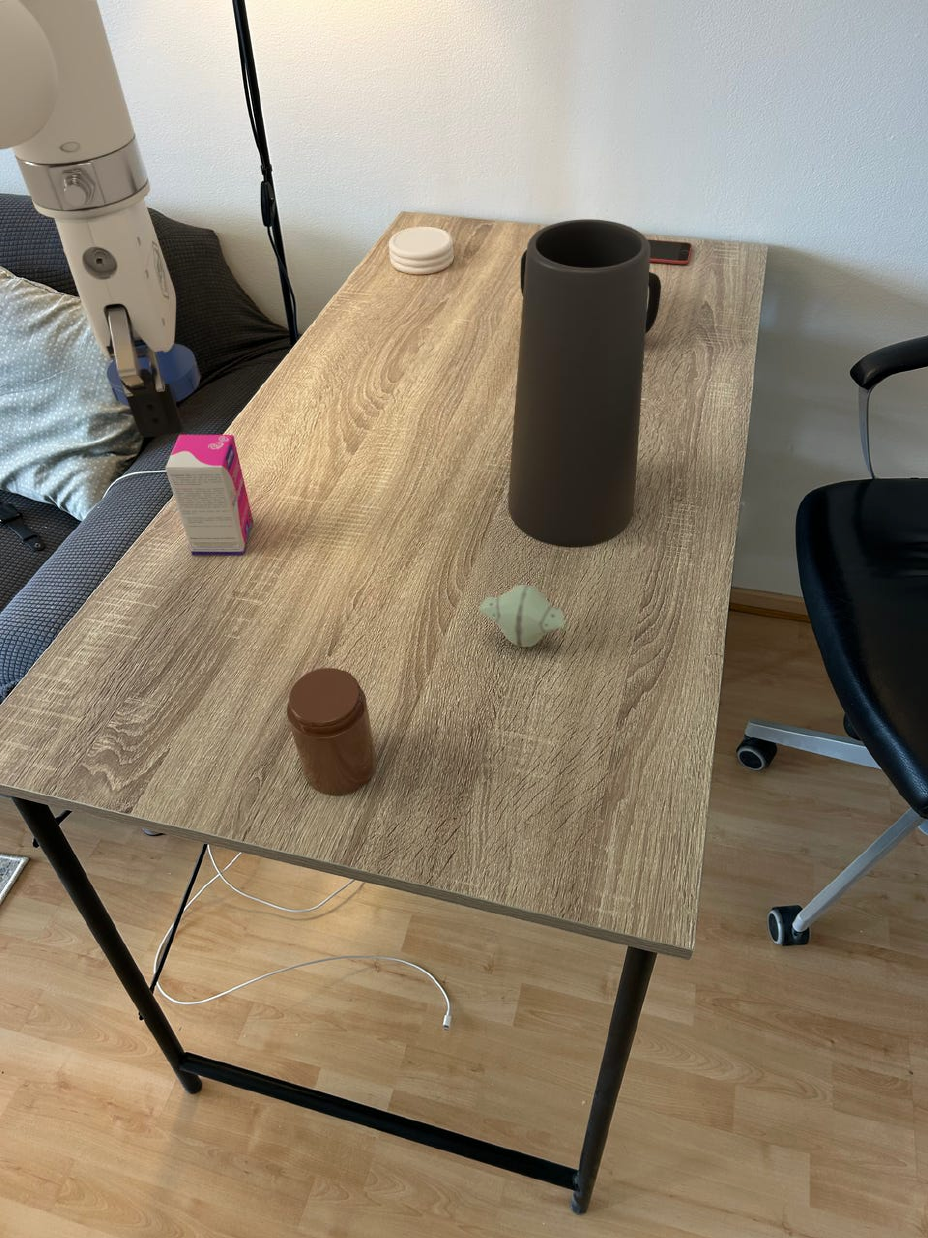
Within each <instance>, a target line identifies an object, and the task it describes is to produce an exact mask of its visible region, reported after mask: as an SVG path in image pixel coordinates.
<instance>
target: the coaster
mask: <svg viewBox="0 0 928 1238" xmlns="http://www.w3.org/2000/svg"><path fill="white" fill-rule="evenodd" d="M388 248H389V251H388V254H389V261H390V265H391V266H392V267H393V268H394V269H396V270H397V271H399V272H401V273H405V274H408V275H418V276H419V275H421V276H422V275H430V274H435V273H439V272H442V271H443V270H445V269H447V268H448V267H450V265H452V263H453V262H454V258H455V253H454V250H455V248H454V238H453V236H452V235H451V234H450V232H448V231H446V230H444V229H441V228H439V227H434V226H414V227H408V228H405V229H402V230H400V231H397V232H396V233H395V234H393V235H392V237H390V239H389V241H388Z"/></svg>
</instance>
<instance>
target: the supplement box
mask: <svg viewBox="0 0 928 1238" xmlns="http://www.w3.org/2000/svg"><path fill="white" fill-rule="evenodd" d="M173 446H174V447H173V449H172V451H171V453H170V456H169V458H168V461H167V464H166V466H165V467H164V468H165V471H166V475H167V478H168V481H169V483H170V484H169V485H170V487H171V491H172V494H173V498H174V501H175V504H176V507H177V510H178V514H179V517H180V521H181V523H182V526H183V530H184V533H185V536H186V540H187V542H188V547H189V550H190V554H191V556H243V555H244V554H245V551H246V546H247V542H248V539H249V535H250V531H251V528H252V527H253V523H254V518H253V513H252V510H251V509H252V508H251V505H250V501H249V496H248V493H247V492H248V491H247V488H246V484H245V480H244V475H243V470H242V467H241V463H240V459H239V454H238V449H237V445H236V441H235V435H234V434H179V435H178V436H177V439H176V442H175V443H174V445H173Z"/></svg>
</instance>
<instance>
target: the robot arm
mask: <svg viewBox="0 0 928 1238" xmlns="http://www.w3.org/2000/svg"><path fill="white" fill-rule="evenodd" d="M106 31H107V30H106V28H105V24H104V21H103V17H102V14H101V11H100V8H99V3H98V0H0V151H1V150H7V149H10V148H11V149H12V152H13V155H14V157H15V160H16V163H17V165H18V167H19V171H20V173H21V175H22V178H23V180H24V184H25V186H26V188H27V190H28V194H29V195H30V198H31V201H32V204H33V207H34V209H35V210H36V211H37V212H38V213H39V214H41V215H43V216H45V217H48V218H53V219H54V222H55V225H56V229H57V231H58V235H59V238H60V241H61V245H62V248H63V249H62V251H63V253H64V254H65V257H66V260H67V263H68V266H69V270H70V272H71V275H72V278H73V281H74V284H75V287H76V290H77V293H78V296H79V298H80V301H81V305H82V308H83V310H84V312H85V315H86V319H87V321H88V323H89V326H90V328H91V331H92V333H93V337H94V339H95V341H96V343H97V346H98V348H99V349H100V351H101V354H102V355H103V356H104V357H106V358H108V359H110V360H112V361H113V360H114V359H116V364H117V370H118V374H119V377H120V379H121V382H122V385H123V389H124V392H125V395H126V398H127V401H128V403H129V406H130V407H129V406H128V407H129V409H130V411H131V414H132V416H133V419H134V422H135V425H136V428H137V431H138V433H139V435H140V437H142V438H153V437H160V436H166V435H173V434H178V433H181V432H182V431H183V422H182V419H181V415H180V413H179V409H178V407H177V402H175V400H174V397H173V394H172V391H171V388H170V385H169V383H168V384H164V379H163V375H162V371H161V367H160V363H159V359H158V355H157V352H159V351H163V352H164V353H165V352H169V350H170V349H171V348H172V346H173V344H174V343H175V336H176V335H175V334H176V318H177V317H176V313H177V297H176V292H175V287H174V284H173V281H172V278H171V274H170V271H169V268H168V266H167V262H166V260H165V257H164V254H163V251H162V248H161V245H160V242H159V239H158V236H157V233H156V230H155V227H154V224H153V222H152V218H151V216H150V215H151V214H150V213H149V209H148V207H147V205H146V201H145V197H146V196H148V195H149V193H150V190H151V183H150V181H149V176H148V173H147V170H146V166H145V163H144V159H143V156H142V153H141V152H142V151H141V148H140V146H139V145H140V144H139V142H138V138H137V135H136V132H135V129H134V126H133V122H132V118H131V116H130V112H129V109H128V104H127V102H126V97H125V95H124V94H125V93H124V91H123V88H122V84H121V80H120V76H119V74H118V70H117V67H116V63H115V59H114V56H113V53H112V49H111V45H110V42H109V38H108V35H107V32H106ZM146 344H147V347H144V348H136V347H139V346H142V345H146ZM175 344H176V343H175ZM141 357H148V360H149V364H150V368H151V372H152V374H151V373H150V372H149V371H148V370H147V369H141V365H140V364H139V362H138V358H141Z"/></svg>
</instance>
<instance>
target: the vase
mask: <svg viewBox="0 0 928 1238" xmlns="http://www.w3.org/2000/svg"><path fill="white" fill-rule="evenodd" d="M647 239H648V238H646V236H645V235H644V234H643V233H642V232H640V231H638V230H637V229H635V228H633V227H632V226H628V225H626V224H623V223H619V222H616V221H611V220H605V219H593V218H588V219H587V218H586V219H584V218H583V219H570V220H565V221H560V222H556V223H553V224H549V225H547V226H544V227H543V228H541V229H539V230H538V231H536V232H535V233H534V234H533V235H532V236H531V237H530V238H529V240H528V242H527V245H526V249H527V254H526V263H525V276H524V289H523V296H522V304H521V306H522V308H521V316H520V317H521V322H520V332H519V333H520V334H519V348H518V359H517V372H516V384H515V385H516V386H515V388H516V389H515V398H514V399H515V401H514V414H513V426H512V439H511V440H512V441H511V442H512V443H511V453H510V467H509V468H510V469H509V482H508V495H507V496H508V497H507V508H508V512H509V516H510V517H511V519H512V521H513V523H514V524H515V525H516V527H518V529H520V530H521V531H522V532H523V533H525V534H526V535H528V536H529V537H531V538H533V539H535V540H536V541H540V542H542V543H545V544H549V545H553V546H559V547H569V548H570V547H571V548H574V547H575V548H576V547H588V546H589V547H590V546H593V545H598V544H600V543H605V542H606V541H609V540H611V539H612V538H615V537H616V536H618V535H619V534H621V533H622V532H623V531H624V530H625V529H626V528H627V527H628V525H629V524H630V522H631V521H632V518H633V515H634V511H635V510H634V509H635V501H636V500H635V497H636V484H637V468H638V456H639V438H640V424H641V406H642V391H643V379H644V378H643V376H644V375H643V373H644V360H645V346H646V334H645V332H646V312H647V298H648V283H649V272H650V267H651V262H650V244H649V242H648V240H647Z"/></svg>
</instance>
